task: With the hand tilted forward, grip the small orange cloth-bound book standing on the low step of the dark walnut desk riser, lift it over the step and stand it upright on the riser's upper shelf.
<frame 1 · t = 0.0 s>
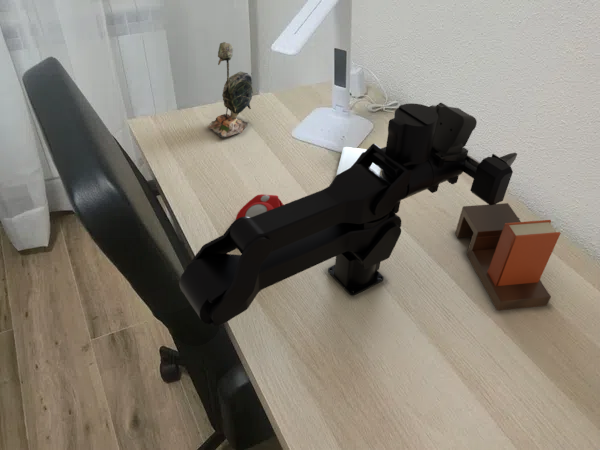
hand: (492, 141, 87), 17 cm above the table, tool horizontal, fingers open, 9 cm apart
tracker holder: (267, 229, 95), on the table
riser: (492, 257, 91), on the table
book: (512, 277, 85), point 2 cm above the table, touching riser
plant with pod: (232, 127, 120), on the table
hard drive: (358, 173, 108), on the table
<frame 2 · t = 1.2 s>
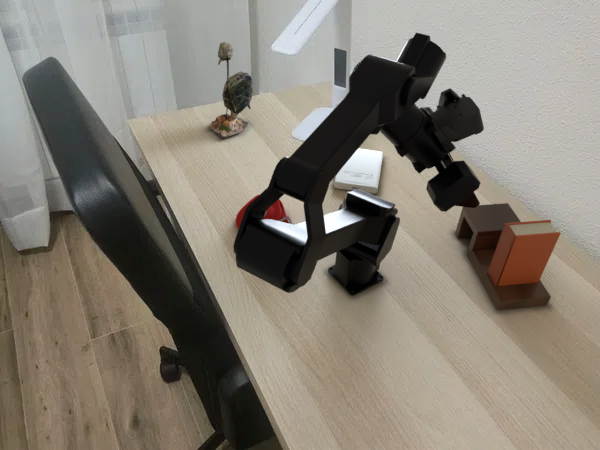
hand: (465, 186, 83), 14 cm above the table, tool tilted 45°, fingers open, 9 cm apart
nothing on the table moved.
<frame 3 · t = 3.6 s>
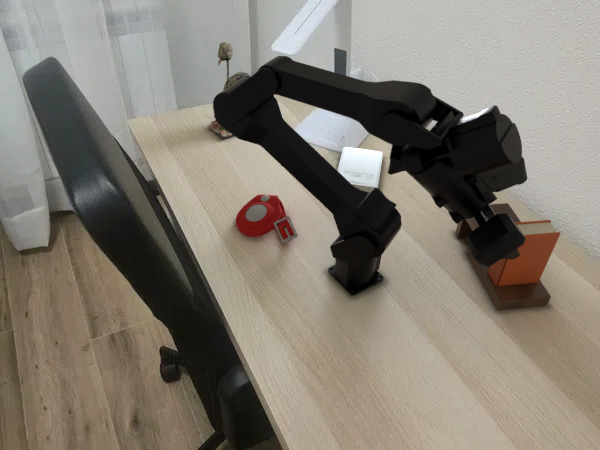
hand: (502, 234, 78), 11 cm above the table, tool tilted 45°, fingers open, 9 cm apart
nothing on the table moved.
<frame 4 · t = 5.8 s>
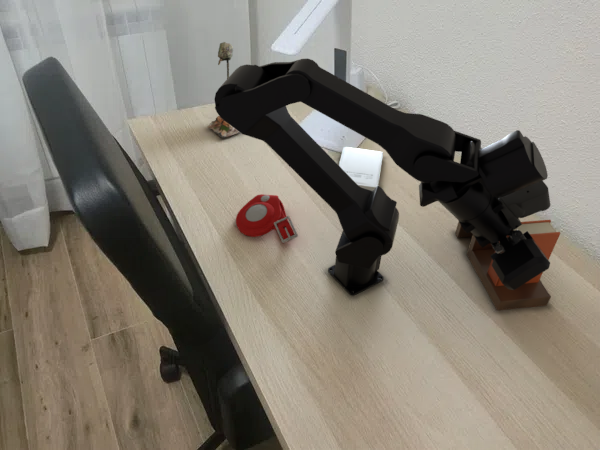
hand: (524, 255, 82), 7 cm above the table, tool tilted 45°, fingers closed on book, 3 cm apart
book: (512, 277, 85), point 2 cm above the table, touching gripper, riser
everything else where it was.
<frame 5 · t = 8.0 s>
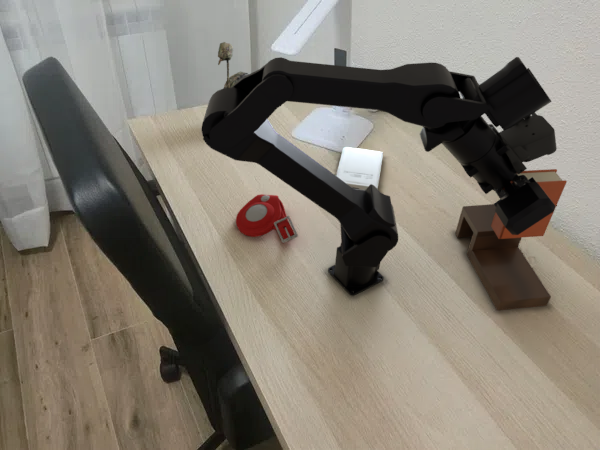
hand: (528, 206, 79), 13 cm above the table, tool tilted 45°, fingers closed on book, 3 cm apart
book: (516, 230, 82), point 9 cm above the table, touching gripper
everything else where it was.
when the fingers open (11 cm above the table, at t = 10.4 s): book stays where it is, resting on riser.
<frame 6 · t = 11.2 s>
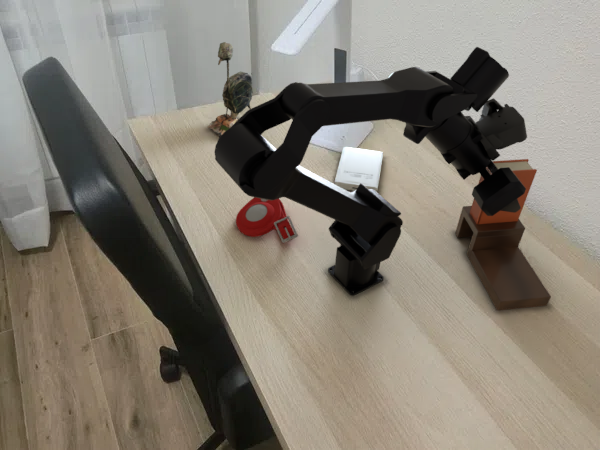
hand: (504, 191, 86), 11 cm above the table, tool tilted 45°, fingers open, 9 cm apart
book: (493, 216, 89), point 6 cm above the table, touching riser
everything else where it was.
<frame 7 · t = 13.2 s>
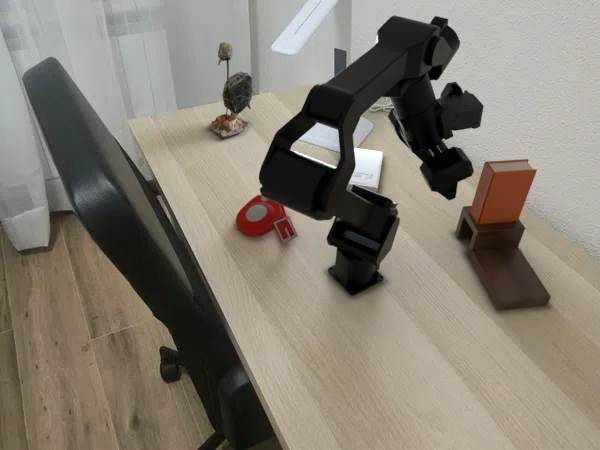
hand: (440, 180, 86), 12 cm above the table, tool tilted 25°, fingers open, 9 cm apart
nothing on the table moved.
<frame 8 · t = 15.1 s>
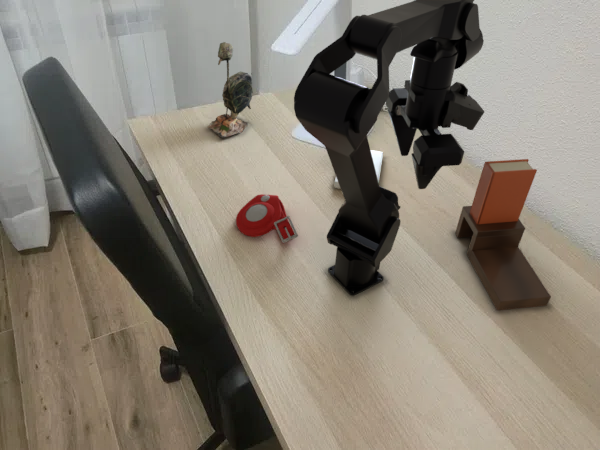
hand: (412, 171, 88), 12 cm above the table, tool pointing down, fingers open, 9 cm apart
nothing on the table moved.
at the end: book 0.0 cm from the target spot on the riser, point 6.0 cm above the riser's base; book tilted 0°; the gripper is holding nothing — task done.
